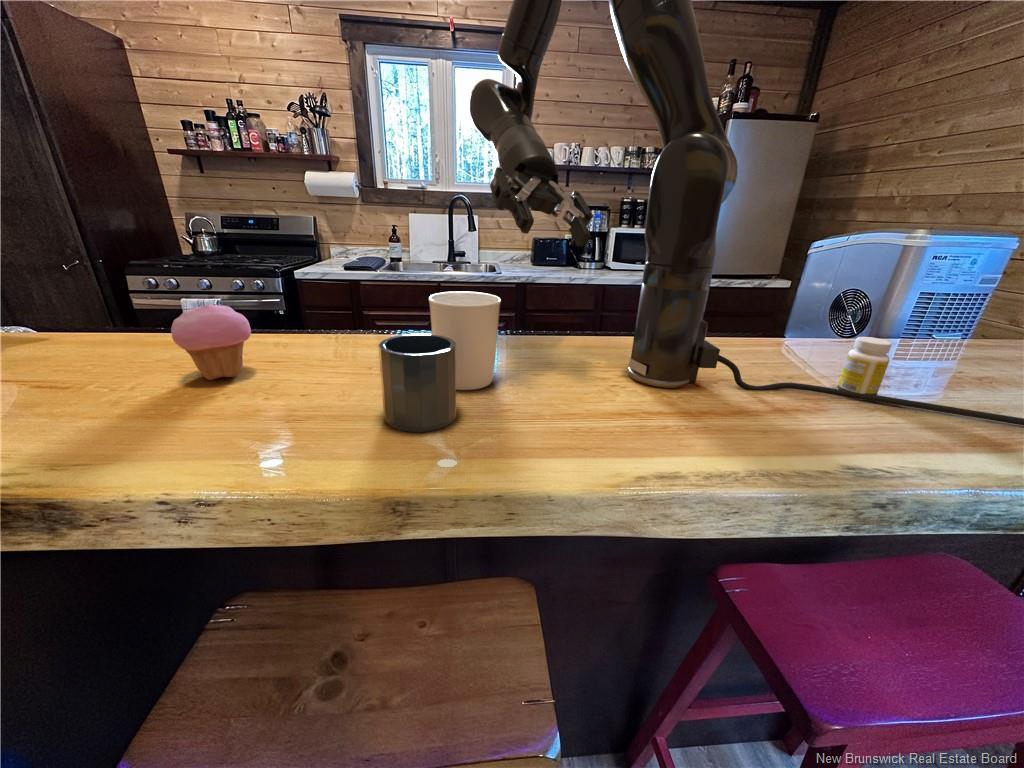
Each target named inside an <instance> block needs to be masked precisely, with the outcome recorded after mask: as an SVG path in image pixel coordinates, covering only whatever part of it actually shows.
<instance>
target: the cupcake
mask: <svg viewBox="0 0 1024 768" xmlns="http://www.w3.org/2000/svg"><path fill="white" fill-rule="evenodd" d="M170 332H171V338H172V340H173V342H174V343H175V344H176V345H177V346H178V348H181V349H182V350H185V352H186V353H188V355H189V356H190V358H191V360H192V361H193V363H194V365H195V367H196V368H197V370H198V371H199V372H200V374H201V375H202V376H203V377H204V378H205V379H206V380H209V381H213V380H216V379H219V378H223V377H224V378H234V377H237V376H239V375H240V373H241V371H242V368H243V366H244V365H243V364H244V363H243V360H244V359H243V350H244V344H245V342H247V341H248V339H250V337H251V335H252V330H251V326H250V322H249V320H248V318H246V317H245V316H244V315H243V314H242V313H240V312H237V311H236V310H234V309H233V308H232V307H230V306H228V305H221V304H218V305H217V304H215V305H214V304H205V305H203V306H199V307H193V308H191V309H188V310H184V311H182V313H181V314H180V315H179V316H178V317H177V318H175V319H174V320H173V322H172V325H171V328H170Z"/></svg>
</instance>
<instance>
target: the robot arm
mask: <svg viewBox="0 0 1024 768" xmlns="http://www.w3.org/2000/svg"><path fill="white" fill-rule="evenodd" d="M608 4H609V11H610V16H611V21H612V24H613V27H614V30H615V31H614V32H615V34H616V37H617V41H618V45H619V48H620V52H621V54H622V56H623V57H622V58H623V59H624V62H625V65H626V67H627V69H628V71H629V73H630V76H631V77H632V79H633V81H634V83H635V85H636V88H637V89H638V91H639V93H640V94H641V96H642V98H643V99H644V102H645V104H646V105H647V107H648V108H649V110H650V112H651V114H652V117H653V119H654V121H655V124H656V126H657V129H658V133H659V136H660V141H661V144H662V150H661V152H660V153H659V155H658V157H657V159H656V161H655V164H654V167H653V170H652V173H651V179H650V185H649V193H648V201H647V209H646V216H645V217H646V218H645V228H644V242H645V247H646V254H645V261H644V266H643V273H642V281H641V287H640V295H639V300H638V306H637V307H638V308H637V313H636V321H635V325H634V326H635V327H634V332H633V333H634V334H633V335H634V336H633V339H632V340H633V341H632V346H631V347H632V348H631V354H630V357H629V359H628V365H627V367H628V369H627V375H628V376H629V377H630V378H631V379H633V380H634V381H635V382H636V381H637V382H638V383H642V384H644V385H648V386H652V387H657V388H666V389H669V388H670V389H673V388H674V389H675V388H684V387H686V386H691V385H692V386H696V382H697V378H698V374H699V369H717V365H718V363H720V364H722V365H725V366H726V367H728V369H730V371H731V372H732V374H733V379H734V383H735V384H736V385H737V386H738V387H739V388H741V389H743V390H745V391H752V392H753V391H754V392H755V391H756V392H757V391H758V392H759V391H760V392H761V391H762V392H763V391H764V392H765V391H777V390H783V389H787V390H799V391H806V392H814V393H820V394H824V395H825V394H826V395H832V396H838V397H843V398H849V397H850V398H849V399H853V398H856V399H855V400H859V399H863V400H862V401H869V402H876V403H882V404H887V405H893V406H901V407H907V408H914V409H920V410H926V411H933V412H938V413H946V414H949V415H957V416H962V417H968V418H975V419H982V420H986V421H993V422H999V423H1006V424H1012V425H1016V426H1022V427H1023V426H1024V417H1018V416H1012V415H1005V414H999V413H993V412H985V411H980V410H973V409H966V408H961V407H954V406H947V405H941V404H936V403H930V402H924V401H917V400H910V399H904V398H897V397H892V396H885V395H878V394H877V395H872V394H862V393H857V392H852V391H846V390H840V389H837V388H833V387H827V386H821V385H815V384H814V385H813V384H807V383H800V382H799V383H798V382H787V381H785V382H776V383H769V384H764V385H751V384H750V383H749V384H748V383H746V382H744V381H743V379H742V377H741V371H740V369H739V367H738V366H737V365H736V364H735V363H734V362H733V361H731V360H730V359H728V358H727V357H725V356H722V355H721V354H720V353H721V349H720V348H719V347H717V346H716V345H714V344H712V343H711V342H709V341H707V340H706V336H707V331H708V325H709V324H708V321H705V320H704V317H705V316H704V315H705V312H706V307H707V302H708V297H709V292H710V288H711V287H710V286H711V284H712V283H711V282H712V277H713V272H714V267H715V264H716V258H717V255H718V244H717V230H718V224H719V218H720V213H721V208H722V204H723V203H724V202H725V201H727V199H728V198H729V196H730V195H731V193H732V192H733V190H734V189H735V188H734V187H735V186H736V183H737V178H738V169H739V168H738V167H739V166H738V161H737V156H736V155H735V152H734V151H733V148H732V146H731V143H730V141H729V138H728V136H727V134H726V131H725V130H724V127H723V124H722V121H721V119H720V116H719V114H718V111H717V108H716V106H715V103H714V100H713V96H712V94H711V93H712V92H711V89H710V85H709V80H708V75H707V68H706V63H705V57H704V52H703V47H702V42H701V38H700V32H699V29H698V24H697V20H696V15H695V10H694V6H693V1H692V0H608ZM561 6H562V0H513V1H512V4H511V7H510V11H509V14H508V17H507V18H506V19H507V20H506V23H505V26H504V29H503V32H502V35H501V37H500V38H501V39H500V41H499V45H498V48H497V56H498V59H499V61H500V62H501V63H502V64H503V65H504V66H506V67H507V68H508V69H509V70H510V71H512V72H513V73H514V74H515V77H516V85H515V88H513V87H512V86H509V85H506V84H505V83H502V82H500V81H497V80H495V79H491V78H484V79H482V80H480V81H479V82H477V83H476V84H475V85H474V86H473V88H472V90H471V92H470V96H469V100H468V110H469V116H470V119H471V122H472V124H473V126H474V127H475V129H476V130H477V131H478V132H479V134H480V135H481V136H482V137H483V138H484V140H486V142H487V143H489V144H490V145H491V146H492V148H493V150H494V152H495V156H496V160H497V165H498V166H497V167H496V169H495V170H494V173H493V176H492V178H491V180H490V183H489V187H490V192H491V194H492V198H493V202H494V203H493V204H494V206H495V208H497V210H499V211H504V210H508V213H509V215H510V216H512V218H513V220H514V223H515V225H516V227H517V228H518V229H519V230H520V233H521V234H525V235H528V234H529V233H530V231H531V229H532V227H533V225H534V222H535V218H534V216H533V214H532V212H531V211H534V212H541V213H544V214H545V215H547V216H548V217H550V218H551V219H552V220H553V221H554V222H555V223H557V224H560V223H562V224H563V225H564V226H566V228H568V231H569V233H570V235H571V238H572V239H573V242H574V243H575V245H576V246H577V247H580V248H582V247H583V246H585V244H586V243H587V241H588V240H589V238H590V237H591V232H590V231H589V229H588V225H589V223H591V221H592V219H593V218H594V214H593V212H592V211H591V208H590V207H589V206H588V204H587V202H586V201H585V199H584V197H583V195H582V194H581V193H580V192H579V191H577V190H574V191H572V194H569V193H565V190H564V189H562V187H561V186H560V185H559V172H558V167H557V164H556V163H555V161H554V159H553V157H552V155H551V153H550V151H549V149H548V147H547V145H546V144H545V142H544V140H543V138H542V137H541V136H540V135H539V134H538V131H537V130H536V128H535V126H534V124H533V121H532V117H533V112H534V107H535V106H534V105H535V98H536V97H535V96H536V91H537V85H538V80H539V76H540V70H541V67H542V64H543V61H544V58H545V56H546V53H547V50H548V48H549V46H550V43H551V41H552V40H551V39H552V38H553V36H554V32H555V29H556V25H557V23H558V19H559V15H560V11H561ZM562 204H563V206H562V208H561V210H560V211H559V212H557V210H558V208H559V207H561V205H562ZM568 215H570V217H571V220H570V219H569V218H568Z"/></svg>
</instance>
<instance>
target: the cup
mask: <svg viewBox="0 0 1024 768" xmlns="http://www.w3.org/2000/svg"><path fill="white" fill-rule="evenodd" d="M378 357H379V369H380V370H379V371H380V384H381V398H382V409H383V415H384V416H383V417H384V421H385V423H386V424H387V425H388V426H389V427H391V428H392V429H395V430H398V431H401V432H408V433H424V432H426V433H427V432H433V431H436V430H440V429H442V428H443V429H444V428H446V427H447V426H449V425H450V424H452V423H453V422H454V421H455V419H456V417H457V410H458V409H457V407H458V406H457V403H458V401H457V390H456V342H454V341H453V340H452V339H450V338H447V337H444V336H440V335H433V334H432V333H408V334H407V333H406V334H400V335H394V336H390V337H388V338H386V339H385V338H384V339H382V340H381V341H380V342H379V343H378Z"/></svg>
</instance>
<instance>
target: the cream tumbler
mask: <svg viewBox="0 0 1024 768" xmlns="http://www.w3.org/2000/svg"><path fill="white" fill-rule="evenodd" d="M501 302H502V299H501V298H500V297H499V296H497V295H496V294H491V293H485V292H478V291H443V292H436V293H433V294H430V296H429V297H428V303H429V315H430V327H431V334H433V335H440V336H444V337H447V338H450V339H452V340H453V341H454V342H456V391H472V390H479V389H483V388H486V387H488V386H490V385H491V384H492V382H493V381H494V375H495V367H496V356H497V355H496V353H497V345H498V344H497V343H498V331H499V320H500V312H501V311H500V309H501Z"/></svg>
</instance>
